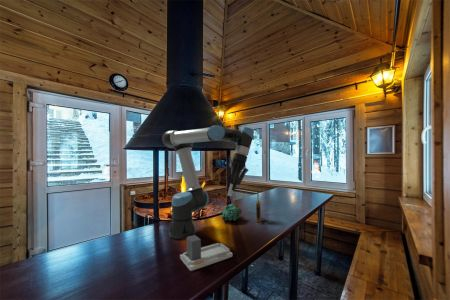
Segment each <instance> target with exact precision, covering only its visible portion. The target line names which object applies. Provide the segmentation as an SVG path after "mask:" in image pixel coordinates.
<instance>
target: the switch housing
mask: <svg viewBox="0 0 450 300" xmlns="http://www.w3.org/2000/svg"><path fill="white" fill-rule="evenodd" d="M232 257H233V252H231V249H230V248H229V247H227V246H226V245H225V244H223V243H222V242H221V243H219V242H216V243H213V244H210V245H206V246H201V258H200V259H197V260H194V261H191V260H190V259H189V258H188V256H187V251H185V252H183V253H182V254H179V259H180V260H181V261H182V262H183V264H184V265H185V266H186V267H187V269H188V270H189V271H190V272H193V271H195V270H198V269H201V268H204V267H208V266H210V265H212V264H215V263H219V262H221V261H224V260H226V259H227V260H228V259H229V258H232Z"/></svg>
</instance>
